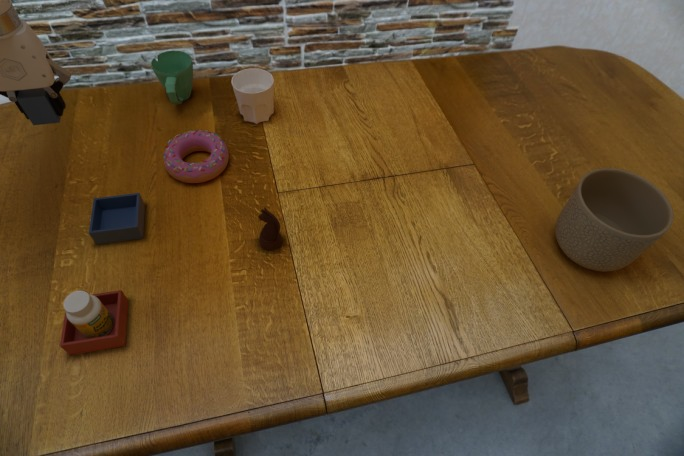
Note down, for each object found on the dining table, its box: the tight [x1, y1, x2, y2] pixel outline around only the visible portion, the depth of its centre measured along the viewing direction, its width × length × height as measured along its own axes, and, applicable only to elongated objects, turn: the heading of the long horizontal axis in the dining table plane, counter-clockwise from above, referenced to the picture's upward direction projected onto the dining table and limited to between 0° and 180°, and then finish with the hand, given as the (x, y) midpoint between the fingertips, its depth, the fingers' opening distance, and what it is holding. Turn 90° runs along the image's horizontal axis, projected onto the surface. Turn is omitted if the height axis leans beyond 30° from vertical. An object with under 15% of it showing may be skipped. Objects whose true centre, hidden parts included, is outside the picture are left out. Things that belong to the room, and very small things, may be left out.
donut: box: [162, 129, 230, 184], centre depth 105 cm, size 14×14×5 cm
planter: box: [554, 167, 675, 273], centre depth 91 cm, size 17×17×15 cm
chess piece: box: [257, 207, 283, 251], centre depth 91 cm, size 5×5×10 cm
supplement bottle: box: [62, 290, 114, 339], centre depth 78 cm, size 5×5×10 cm
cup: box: [230, 67, 275, 125], centre depth 114 cm, size 10×10×10 cm
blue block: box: [17, 88, 62, 126], centre depth 85 cm, size 5×5×6 cm
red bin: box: [59, 289, 130, 356], centre depth 80 cm, size 9×9×4 cm
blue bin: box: [88, 192, 146, 246], centre depth 94 cm, size 9×9×4 cm
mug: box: [150, 49, 194, 105], centre depth 116 cm, size 15×10×10 cm
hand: (46, 112), depth 86 cm, fingers closed on blue block, 4 cm apart
